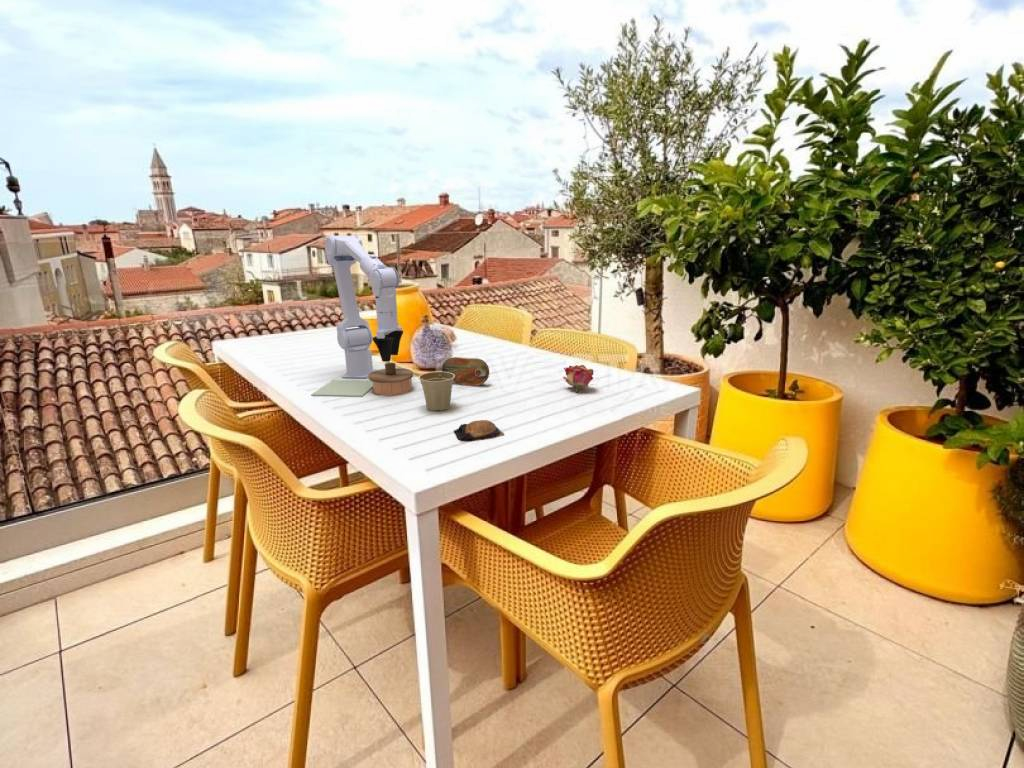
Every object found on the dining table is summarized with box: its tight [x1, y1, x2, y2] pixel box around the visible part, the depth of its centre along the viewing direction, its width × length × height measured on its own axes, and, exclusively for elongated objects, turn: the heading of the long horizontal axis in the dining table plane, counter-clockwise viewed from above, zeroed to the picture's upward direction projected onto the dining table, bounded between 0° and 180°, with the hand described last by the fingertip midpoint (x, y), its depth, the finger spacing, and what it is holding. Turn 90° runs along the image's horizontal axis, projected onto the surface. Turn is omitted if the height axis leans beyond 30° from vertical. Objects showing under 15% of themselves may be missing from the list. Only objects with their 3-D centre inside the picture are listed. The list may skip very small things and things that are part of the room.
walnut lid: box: [367, 362, 414, 383], centre depth 146 cm, size 13×13×4 cm
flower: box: [562, 364, 594, 394], centre depth 145 cm, size 10×9×8 cm
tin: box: [441, 356, 490, 387], centre depth 151 cm, size 15×3×8 cm, turn 71°
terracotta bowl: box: [372, 377, 413, 396], centre depth 147 cm, size 11×11×4 cm
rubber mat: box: [310, 379, 373, 398], centre depth 148 cm, size 15×15×1 cm
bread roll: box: [453, 419, 505, 443], centre depth 114 cm, size 11×8×4 cm
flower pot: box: [418, 370, 455, 412], centre depth 131 cm, size 9×9×9 cm
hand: (390, 358), depth 145 cm, fingers open, 7 cm apart
